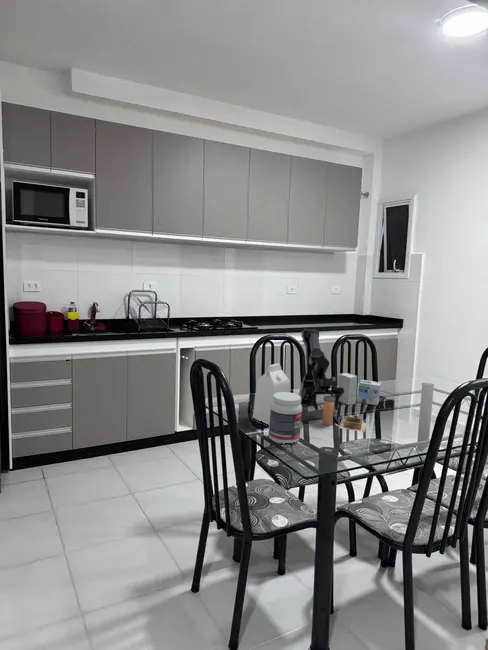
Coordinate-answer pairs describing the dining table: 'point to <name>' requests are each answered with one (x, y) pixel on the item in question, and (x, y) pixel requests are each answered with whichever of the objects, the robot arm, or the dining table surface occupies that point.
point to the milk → (269, 391)
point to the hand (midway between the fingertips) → (327, 410)
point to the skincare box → (348, 388)
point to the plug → (328, 410)
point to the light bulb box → (369, 392)
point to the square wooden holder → (353, 424)
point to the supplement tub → (285, 418)
